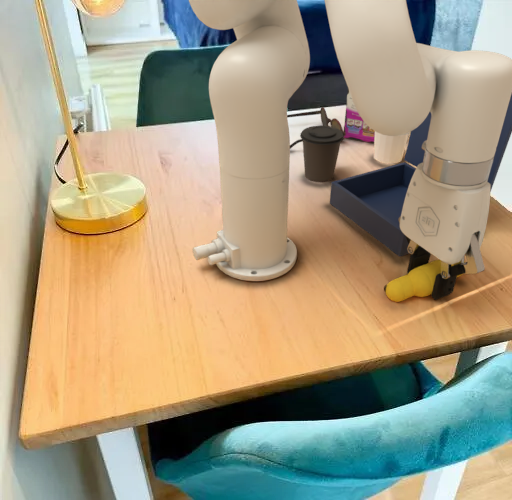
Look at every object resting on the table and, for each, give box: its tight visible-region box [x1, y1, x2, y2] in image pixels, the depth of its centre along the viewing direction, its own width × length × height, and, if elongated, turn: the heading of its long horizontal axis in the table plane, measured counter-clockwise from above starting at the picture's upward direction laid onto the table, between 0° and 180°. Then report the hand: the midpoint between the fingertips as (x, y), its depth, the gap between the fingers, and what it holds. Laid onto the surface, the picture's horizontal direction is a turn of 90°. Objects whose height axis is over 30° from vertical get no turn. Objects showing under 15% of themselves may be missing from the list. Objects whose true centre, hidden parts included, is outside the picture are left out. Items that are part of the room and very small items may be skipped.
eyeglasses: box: [287, 106, 346, 150], centre depth 114 cm, size 15×15×5 cm
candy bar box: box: [343, 88, 375, 144], centre depth 110 cm, size 11×5×16 cm, turn 62°
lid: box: [403, 93, 512, 193], centre depth 82 cm, size 17×18×5 cm
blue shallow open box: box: [329, 161, 417, 258], centre depth 85 cm, size 16×18×5 cm
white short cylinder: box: [373, 131, 410, 165], centre depth 103 cm, size 7×7×7 cm
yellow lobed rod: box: [383, 259, 466, 303], centre depth 69 cm, size 14×4×4 cm, turn 118°
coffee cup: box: [299, 125, 345, 183], centre depth 96 cm, size 8×8×10 cm
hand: (428, 284), depth 70 cm, fingers closed on yellow lobed rod, 4 cm apart
